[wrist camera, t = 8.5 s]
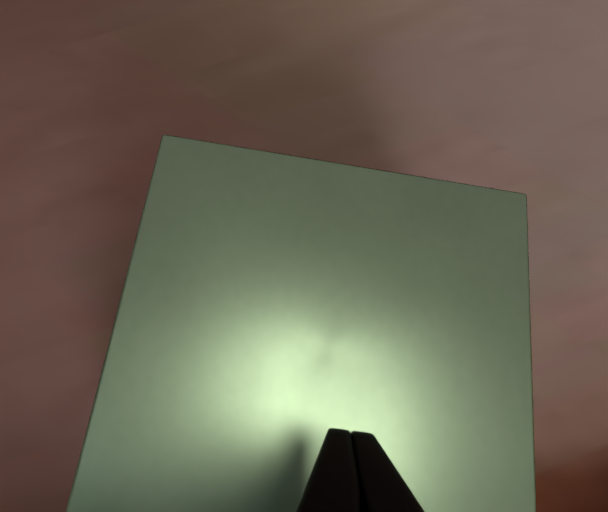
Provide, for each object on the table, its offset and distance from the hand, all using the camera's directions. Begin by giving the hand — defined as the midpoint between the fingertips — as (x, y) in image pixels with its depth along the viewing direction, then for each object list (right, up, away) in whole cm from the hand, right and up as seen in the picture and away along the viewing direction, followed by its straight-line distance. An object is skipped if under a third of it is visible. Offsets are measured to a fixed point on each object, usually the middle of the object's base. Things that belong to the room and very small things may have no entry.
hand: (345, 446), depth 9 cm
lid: (0, +1, +5) cm, 5 cm away
